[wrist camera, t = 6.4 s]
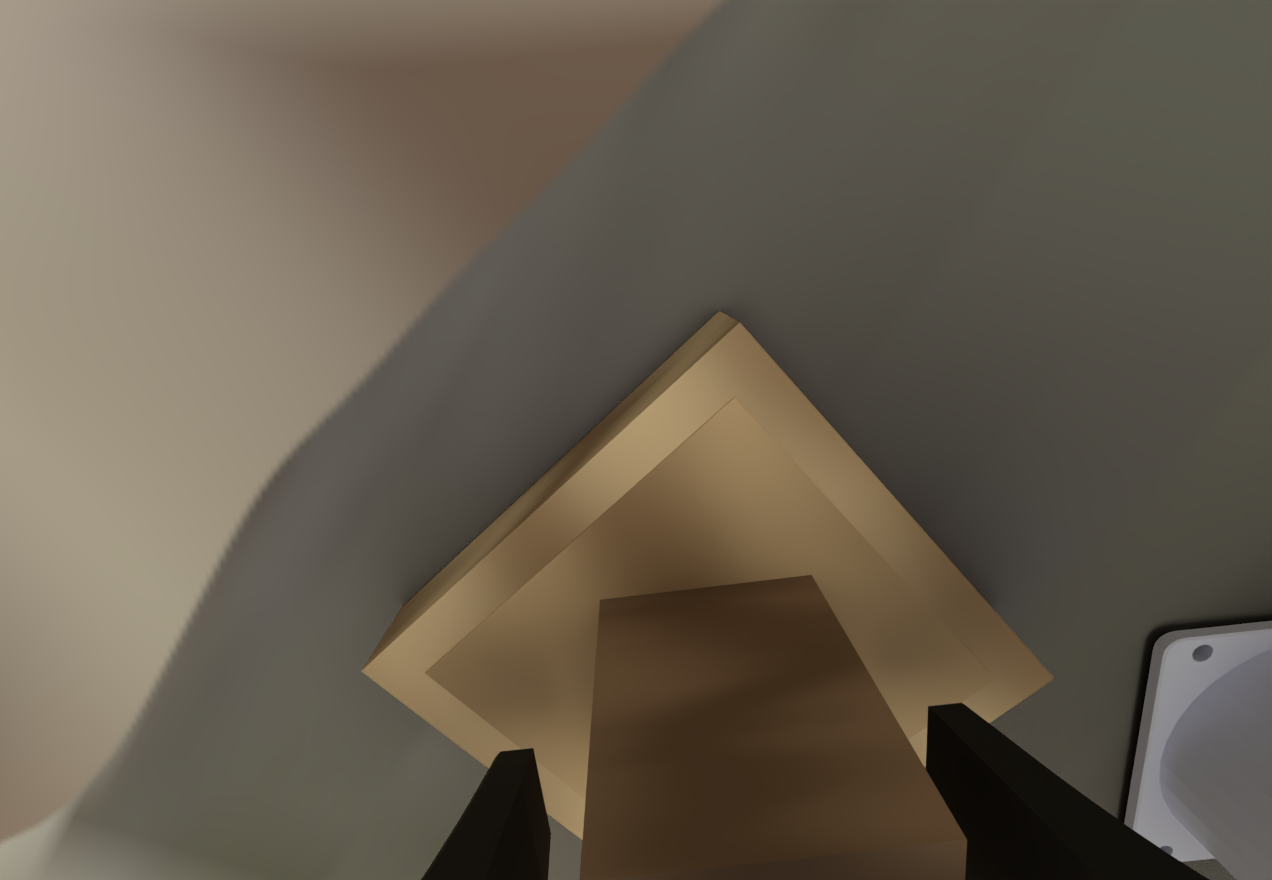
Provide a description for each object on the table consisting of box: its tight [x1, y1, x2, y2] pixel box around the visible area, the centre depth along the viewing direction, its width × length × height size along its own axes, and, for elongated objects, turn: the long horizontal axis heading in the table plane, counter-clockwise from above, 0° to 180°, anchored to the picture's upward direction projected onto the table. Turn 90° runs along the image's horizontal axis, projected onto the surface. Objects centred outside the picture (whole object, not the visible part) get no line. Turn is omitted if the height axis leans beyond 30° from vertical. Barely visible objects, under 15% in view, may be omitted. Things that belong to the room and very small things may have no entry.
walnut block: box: [580, 575, 967, 880], centre depth 10 cm, size 4×4×6 cm
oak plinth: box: [361, 311, 1055, 840], centre depth 15 cm, size 11×11×3 cm
